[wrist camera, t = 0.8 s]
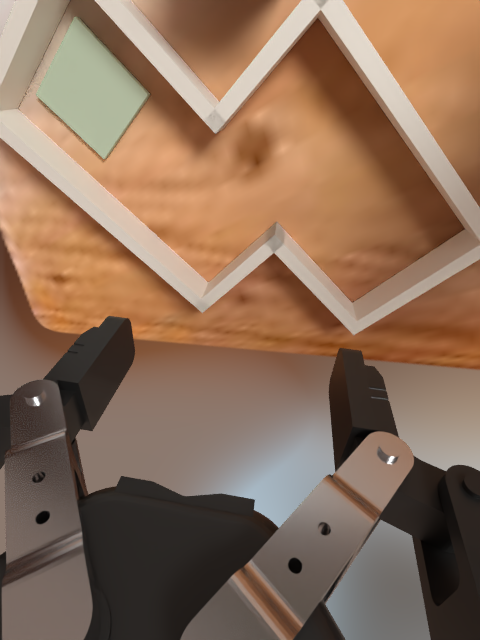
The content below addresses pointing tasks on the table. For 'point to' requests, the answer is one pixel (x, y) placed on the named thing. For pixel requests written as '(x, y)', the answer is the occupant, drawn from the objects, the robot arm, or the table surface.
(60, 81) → the pad
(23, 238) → the table surface
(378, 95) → the white z-shaped frame
